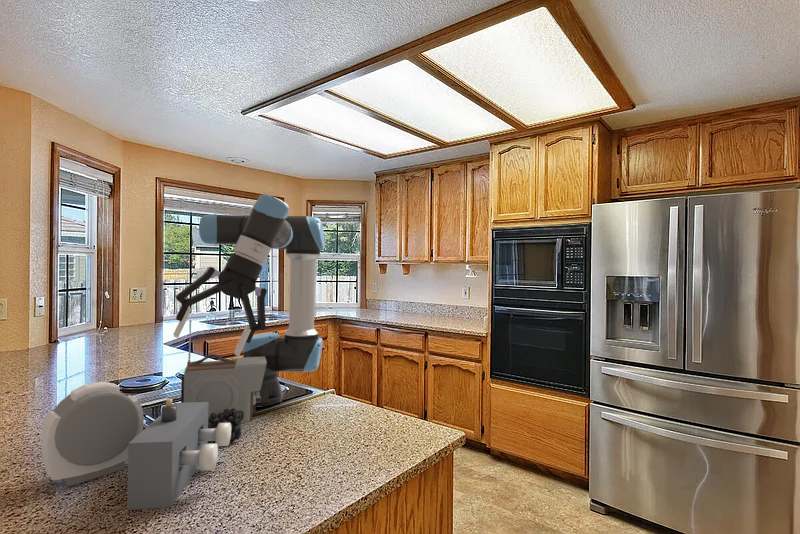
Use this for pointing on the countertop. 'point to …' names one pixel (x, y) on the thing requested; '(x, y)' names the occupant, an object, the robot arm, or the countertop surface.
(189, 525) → the countertop surface
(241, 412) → the fruit
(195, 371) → the portable television
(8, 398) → the countertop surface
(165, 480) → the block
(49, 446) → the grey rounded slab
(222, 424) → the knob
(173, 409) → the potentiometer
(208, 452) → the knob
